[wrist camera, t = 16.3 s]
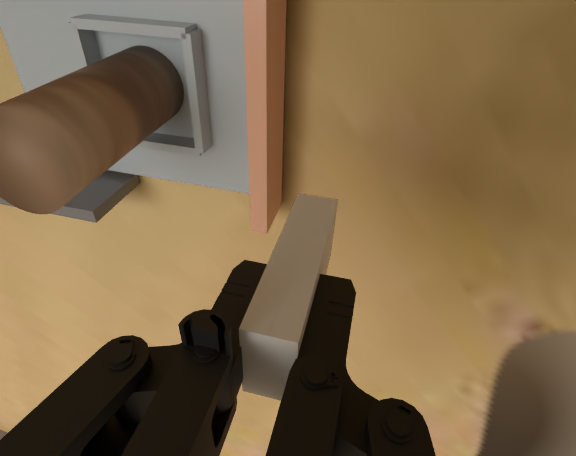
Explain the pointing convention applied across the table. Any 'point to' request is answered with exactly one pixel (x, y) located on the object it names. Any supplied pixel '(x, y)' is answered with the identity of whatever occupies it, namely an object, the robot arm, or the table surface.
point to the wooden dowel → (82, 126)
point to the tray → (195, 77)
